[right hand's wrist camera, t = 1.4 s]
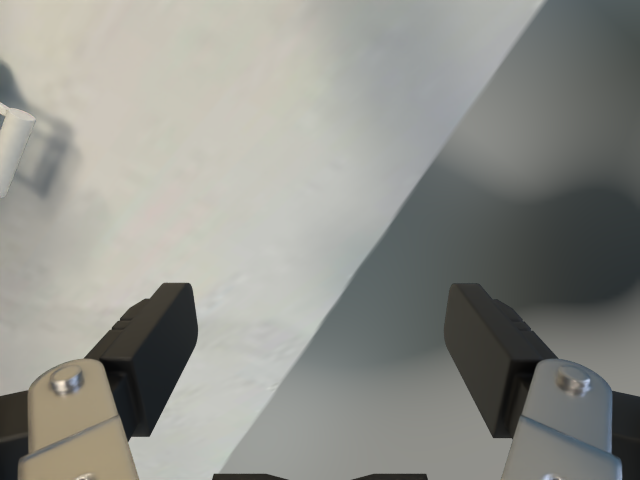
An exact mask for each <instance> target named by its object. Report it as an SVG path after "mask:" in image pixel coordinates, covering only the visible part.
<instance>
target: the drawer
mask: <svg viewBox="0 0 640 480" xmlns="http://www.w3.org/2000/svg"><path fill="white" fill-rule="evenodd" d="M0 114H1V115H3V116H5V119H4V122H3V125H2V127H1V130H0V198H1V197H5V196H6V195H7V192H8V189H9V187H10V184H11V182H12V179H13V177H14V174H15V172H16V169H17V167H18V164H19V161H20V159H21V156H22V154H23V151H24V149H25V146H26V144H27V141H28V139H29V136H30V133H31V131H32V128H33V126H34V123H35V121H36V120H35V118H34V117H33V116H32V115H31V114H29V113H27V112H25V111H22V110H19V109H15V108H9V107H7V106H6V105H4V104H2V103H1V102H0Z"/></svg>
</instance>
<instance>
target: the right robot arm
mask: <svg viewBox="0 0 640 480" xmlns="http://www.w3.org/2000/svg"><path fill="white" fill-rule="evenodd" d="M197 337H198V324H197V317H196V310H195V303H194V296H193V290H192V286H191V284H190V283H163V284H162V285H161V286H160V287H159V288H158V290H157V291H156V292H155V293H154V294H153V295H152V297H151V298H150V299H144V300H142V301H141V302H139V303H137V304H136V305H134V306H132V307H131V308H129V309H128V311H127V312H126V313H125V314H124V315H123V316H122V317H121V318H120V321H117V323H116V324H115V325H114V326H113V327H112V330H109V331H108V332H107V334H106V335H105V336H104V337H103V338H102V339H101V340H100V341H99V342H98V343H97V344H96V346H95V347H94V348H93V349H92V350H91V351H90V352H89V353H88V354H87V355H86V357H85V358H84V359H77V360H72V361H69V362H65V363H63V364H60V365H58V366H56V367H53V368H52V369H50V370H48V371H46V372H45V373H43V374H42V375H41V376H39V377H38V378H37V379H36V380H35V381H34V382H33V383H32V385H31V386H30V388H29V390H27V391H22V392H18V393H13V394H8V395H4V396H0V480H139V477H138V474H137V470H136V467H135V464H134V461H133V457H132V454H131V451H130V448H129V444H128V442H129V440H130V438H131V437H150V435H151V433H152V431H153V429H154V427H155V425H156V423H157V421H158V419H159V417H160V415H161V413H162V411H163V409H164V407H165V405H166V403H167V401H168V399H169V397H170V395H171V393H172V391H173V389H174V387H175V385H176V383H177V381H178V379H179V377H180V376H181V374H182V372H183V370H184V368H185V366H186V364H187V362H188V360H189V358H190V356H191V354H192V352H193V350H194V348H195V345H196V342H197ZM444 338H445V343H446V346H447V349H448V351H449V353H450V355H451V357H452V358H453V360H454V362H455V364H456V366H457V368H458V370H459V372H460V374H461V376H462V378H463V380H464V382H465V384H466V386H467V388H468V390H469V392H470V394H471V396H472V398H473V400H474V401H475V403H476V405H477V407H478V409H479V411H480V413H481V415H482V417H483V419H484V421H485V423H486V425H487V427H488V429H489V431H490V433H491V435H492V437H493V438H512V439H513V441H512V444H511V448H510V451H509V454H508V457H507V461H506V464H505V467H504V471H503V474H502V477H501V480H640V397H638V396H634V395H629V394H624V393H619V392H615V391H612V390H611V388H610V386H609V385H608V383H607V382H606V381H605V380H604V379H603V378H602V377H600V376H599V375H598V374H597V373H595V372H594V371H592V370H590V369H588V368H587V367H584V366H582V365H580V364H577V363H575V362H571V361H568V360H563V359H558V357H557V356H556V355H555V354H554V353H553V352H552V351H551V350H550V349H549V348H548V347H547V346H546V344H545V343H544V342H543V341H542V340H541V339H540V338H539V337H538V336H537V335H536V334H535V333H534V331H531V328H530V327H529V326H528V325H527V324H526V323H525V322H523V321H522V318H521V317H520V316H519V315H518V314H517V313H516V312H515V311H514V310H513V309H512V308H511V307H509V306H507V305H506V304H504V303H502V302H501V301H499V300H497V299H492V298H491V297H490V296H489V295H488V293H487V292H486V291H485V290H484V289H483V288H482V287H481V285H480V284H477V283H454V284H452V285H451V287H450V290H449V296H448V303H447V310H446V317H445V324H444ZM212 480H287V479H283V478H280V477H276V476H272V475H268V474H214V475H213V479H212ZM353 480H428V479H427V475H426V474H372V475H368V476H364V477H360V478H357V479H353Z"/></svg>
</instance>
